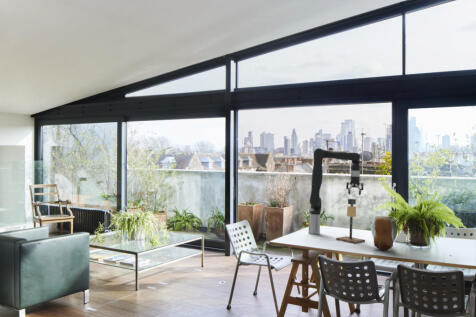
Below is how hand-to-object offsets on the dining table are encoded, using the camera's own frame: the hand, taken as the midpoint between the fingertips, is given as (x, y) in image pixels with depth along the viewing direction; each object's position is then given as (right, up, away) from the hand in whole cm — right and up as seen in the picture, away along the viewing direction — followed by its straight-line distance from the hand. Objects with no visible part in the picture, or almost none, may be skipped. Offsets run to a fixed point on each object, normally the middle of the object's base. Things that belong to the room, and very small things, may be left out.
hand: (354, 194), depth 363 cm
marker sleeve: (-8, -16, -20) cm, 27 cm away
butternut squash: (+6, -37, -52) cm, 64 cm away
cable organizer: (+36, -38, -16) cm, 54 cm away
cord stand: (-9, -36, -20) cm, 42 cm away
